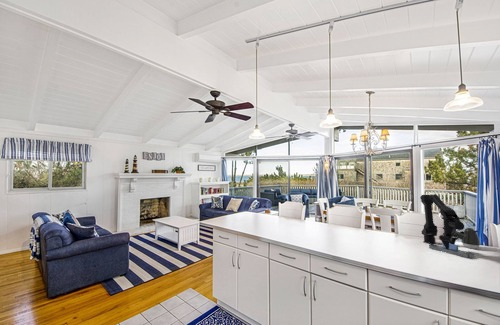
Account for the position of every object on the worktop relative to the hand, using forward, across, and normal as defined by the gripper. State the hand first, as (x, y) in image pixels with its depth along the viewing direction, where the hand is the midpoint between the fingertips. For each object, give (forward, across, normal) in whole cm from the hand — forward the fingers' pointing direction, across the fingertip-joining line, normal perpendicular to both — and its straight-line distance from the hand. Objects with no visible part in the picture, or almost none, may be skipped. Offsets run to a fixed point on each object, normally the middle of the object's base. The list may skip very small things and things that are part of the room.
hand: (450, 248), depth 157 cm
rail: (+3, 0, 0) cm, 3 cm away
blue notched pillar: (+3, 0, 0) cm, 3 cm away
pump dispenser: (+3, +27, -4) cm, 27 cm away
